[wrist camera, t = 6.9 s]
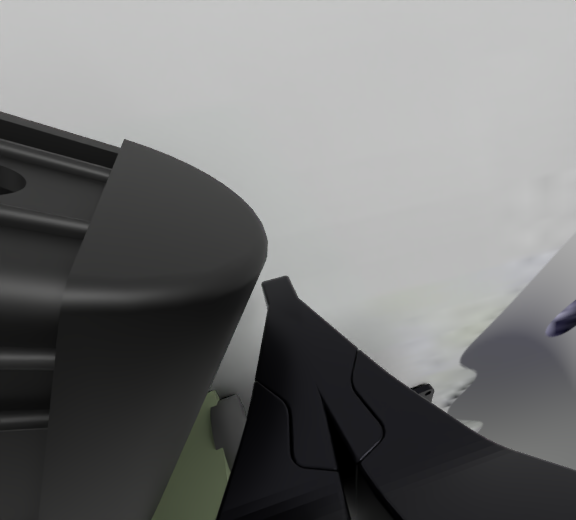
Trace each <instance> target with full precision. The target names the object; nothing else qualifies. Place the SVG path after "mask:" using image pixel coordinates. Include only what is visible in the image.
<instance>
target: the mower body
mask: <svg viewBox="0 0 576 520" xmlns="http://www.w3.org/2000/svg"><path fill="white" fill-rule="evenodd" d="M246 420H247V417H246V414H245V411H244V408H243V405H242V403H241V400H240V398H239V396H238V395H237V394H235V395H233V396H230V397H227V398H225V399H222V400H220V398H219V397H218V395H217V393H216V391H215V390H214V391H211V392H208V393H207V395H206V398H205V400H204V402H203V404H202V407H201V409H200V411H199V414H198V416H197V418H196V420H195V423H194V425H193V427H192V429H191V432H190V434H189V436H188V439H187V441H186V443H185V445H184V448H183V450H182V452H181V454H180V457H179V459H178V461H177V464H176V466H175V468H174V470H173V473H172V475H171V477H170V479H169V482H168V484H167V486H166V489H165V491H164V493H163V495H162V498H161V500H160V502H159V504H158V506H157V509H156V511H155V513H154V515H153V517H152V519H151V520H215V519H216V516H217V513H218V510H219V507H220V504H221V501H222V498H223V495H224V492H225V488H226V485H227V482H228V479H229V476H230V473H231V470H232V466H233V463H234V460H235V457H236V454H237V451H238V448H239V444H240V441H241V437H242V434H243V430H244V427H245V423H246Z"/></svg>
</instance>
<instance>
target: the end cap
mask: <svg viewBox="0 0 576 520" xmlns="http://www.w3.org/2000/svg"><path fill="white" fill-rule="evenodd" d="M267 245H268V241H267V236H266V233H265V230H264V227H263V225H262V223H261V221H260V220H259V218H258V217H257V215H256V214H255V212H254V211H253V209H252V208H251V207H250V206H249V205H248V204H247V203H246V202H245V201H244V200H243V199H242V198H241V197H239V196H238V195H237V194H236V193H234V192H233V191H232V190H231V189H229V188H228V187H227V186H225V185H224V184H222V183H221V182H219V181H218V180H216V179H215V178H213V177H211V176H210V175H208V174H206V173H204V172H203V171H201V170H199V169H197V168H195V167H193V166H191V165H189V164H187V163H185V162H183V161H181V160H178V159H176V158H174V157H172V156H169V155H167V154H164V153H162V152H159V151H157V150H154V149H152V148H149V147H146V146H143V145H141V144H138V143H135V142H132V141H129V140H126V139H124V141H123V143H122V146H121V148H119V147H116V146H112V145H109V144H106V143H103V142H99V141H96V140H93V139H89V138H86V137H83V136H79V135H76V134H73V133H69V132H66V131H63V130H60V129H56V128H53V127H50V126H46V125H43V124H40V123H36V122H33V121H30V120H26V119H23V118H20V117H17V116H13V115H10V114H7V113H3V112H0V520H151V519H152V517H153V515H154V513H155V511H156V509H157V506H158V504H159V502H160V500H161V498H162V495H163V493H164V491H165V489H166V486H167V484H168V482H169V479H170V477H171V475H172V473H173V470H174V468H175V466H176V464H177V461H178V459H179V457H180V454H181V452H182V450H183V448H184V445H185V443H186V441H187V439H188V436H189V434H190V432H191V429H192V427H193V425H194V423H195V420H196V418H197V416H198V414H199V411H200V409H201V407H202V404H203V402H204V400H205V398H206V395H207V393H208V391H209V389H210V386H211V384H212V382H213V379H214V377H215V375H216V373H217V370H218V368H219V366H220V364H221V361H222V359H223V357H224V355H225V352H226V350H227V348H228V345H229V343H230V341H231V339H232V336H233V334H234V332H235V330H236V327H237V325H238V323H239V320H240V318H241V316H242V314H243V311H244V309H245V307H246V305H247V302H248V300H249V298H250V295H251V293H252V291H253V289H254V286H255V284H256V282H257V280H258V277H259V275H260V273H261V270H262V268H263V266H264V264H265V261H266V258H267Z"/></svg>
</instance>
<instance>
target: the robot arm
mask: <svg viewBox="0 0 576 520" xmlns="http://www.w3.org/2000/svg"><path fill="white" fill-rule="evenodd" d="M261 285H262V290H263V294H264V298H265V302H266V306H267V310H268V311H267V316H266V322H265V327H264V332H263V338H262V343H261V349H260V354H259V360H258V365H257V371H256V376H255V382H254V386H253V391H252V397H251V401H250V406H249V410H248V415H247V420H246V423H245V427H244V430H243V434H242V437H241V441H240V444H239V448H238V451H237V454H236V457H235V460H234V463H233V466H232V470H231V473H230V476H229V479H228V482H227V485H226V488H225V492H224V495H223V498H222V501H221V504H220V507H219V510H218V513H217V516H216V519H215V520H576V470H573V469H570V468H567V467H564V466H561V465H558V464H555V463H552V462H549V461H546V460H542V459H539V458H536V457H533V456H530V455H527V454H524V453H521V452H518V451H514V450H512V449H509V448H507V447H504V446H502V445H499V444H497V443H495V442H493V441H491V440H489V439H487V438H485V437H483V436H482V435H480V434H478V433H476V432H475V431H473V430H471V429H470V428H468V427H467V426H465V425H464V424H462V423H461V422H459V421H458V420H456V419H455V418H453V417H452V416H450V415H449V414H447V413H446V412H444V411H443V410H441V409H440V408H438V407H437V406H436V405H434V404H433V403H431V401H432V397H433V394H434V389H433V388H432V386H431V385H430V384H426V385H423V386H421V387H418V388H416V389H414V390H412V389H410V388H409V387H407V386H406V385H405V384H403V383H402V382H400V381H399V380H397V379H396V378H395V377H393V376H392V375H390V374H389V373H388V372H387V371H385V370H384V369H383V368H382V367H380V366H379V365H378V364H376V363H375V362H374V361H373V360H371V359H370V358H369V357H368V356H367V355H366V354H364V353H363V352H362V351H361V350H358V348H357V347H356V346H355V345H354V344H352V343H351V342H350V341H349V340H348V339H346V338H345V337H344V336H343V335H342V334H341V333H339V332H338V331H337V330H336V329H335V328H333V327H332V326H331V325H330V324H329V323H328V322H326V321H325V320H324V319H323V318H322V317H320V316H319V315H318V314H317V313H316V312H315V311H313V310H312V309H311V308H310V307H309V306H307V305H306V304H305V303H304V302H303V301H302V300H300V299H299V298H298V296H297V294H296V292H295V290H294V288H293V285H292V283H291V281H290V279H289V277H288V276H282V277H279V278H275V279H271V280H267V281H264V282H262V284H261Z"/></svg>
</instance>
